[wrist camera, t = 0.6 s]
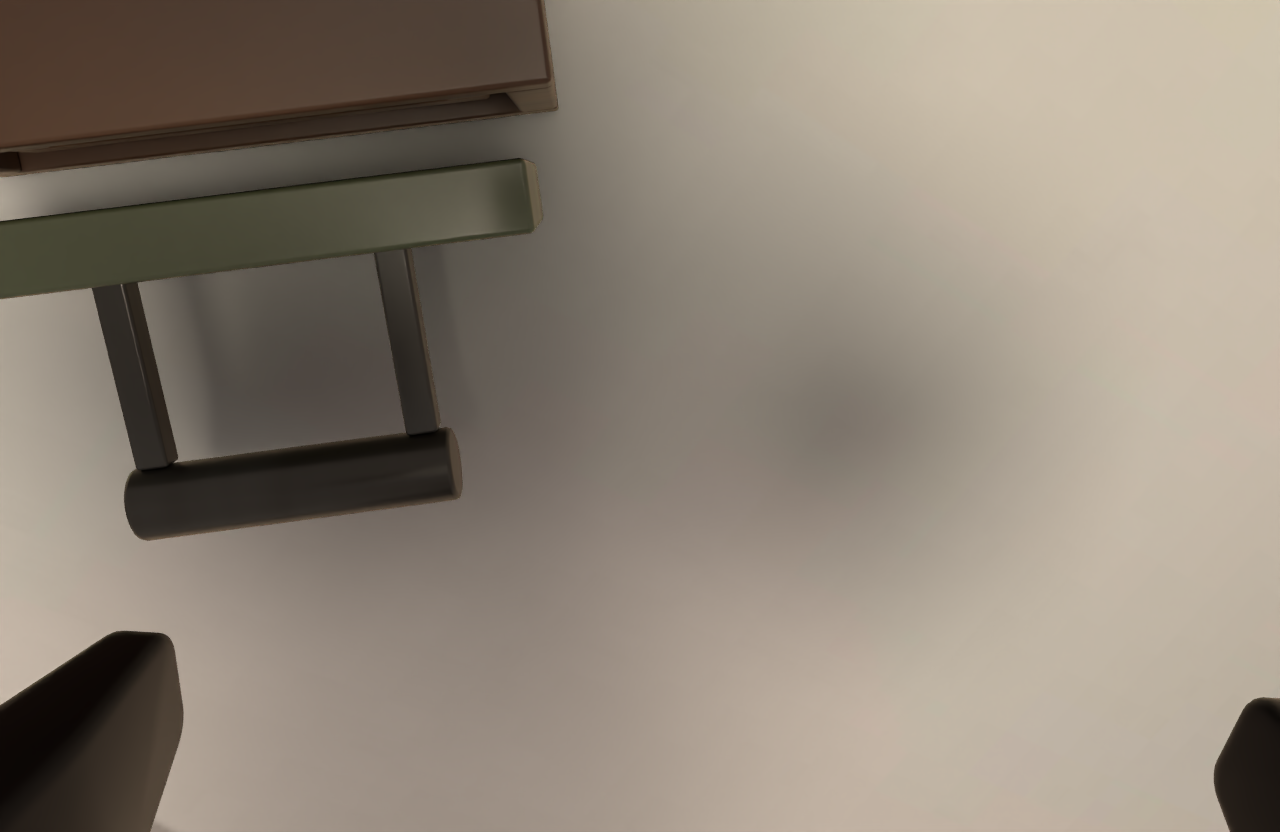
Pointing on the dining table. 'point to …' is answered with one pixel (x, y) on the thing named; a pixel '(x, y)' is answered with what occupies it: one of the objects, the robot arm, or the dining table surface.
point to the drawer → (256, 237)
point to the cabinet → (254, 72)
